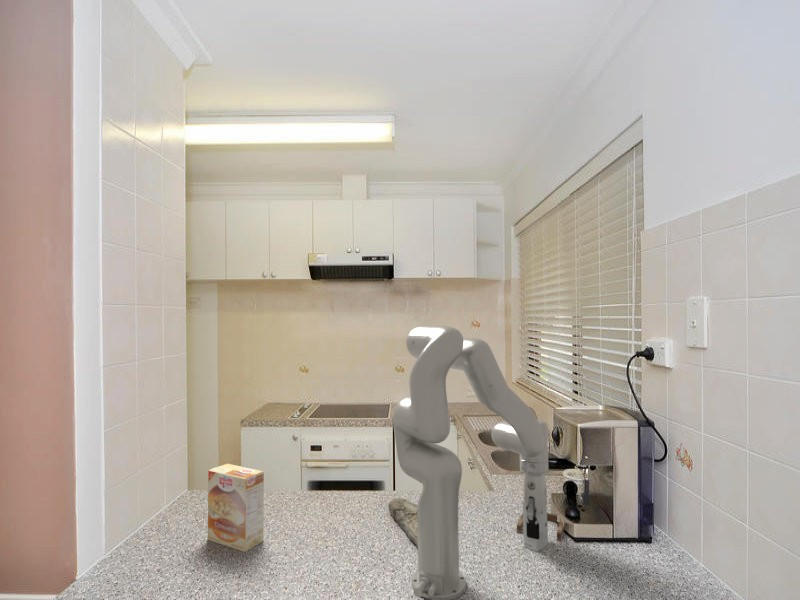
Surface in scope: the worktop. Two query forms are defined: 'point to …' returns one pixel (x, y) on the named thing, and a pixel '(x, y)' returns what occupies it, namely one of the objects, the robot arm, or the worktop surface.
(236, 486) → the coffeecake box
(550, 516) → the lane rack
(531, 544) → the skincare box
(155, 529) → the worktop surface
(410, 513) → the long grey stone
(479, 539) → the worktop surface
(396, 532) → the worktop surface
